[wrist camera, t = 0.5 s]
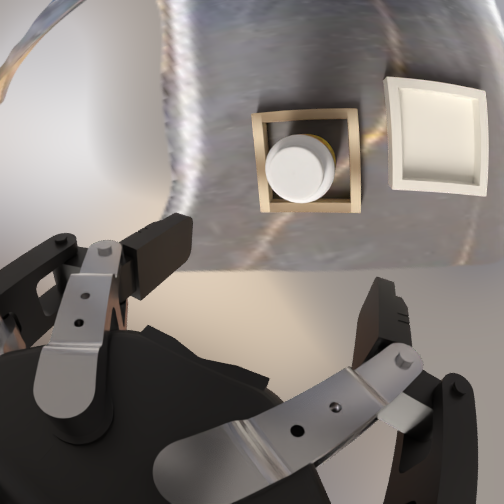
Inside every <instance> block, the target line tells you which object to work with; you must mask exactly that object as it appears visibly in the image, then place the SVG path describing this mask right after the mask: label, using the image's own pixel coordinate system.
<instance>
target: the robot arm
mask: <svg viewBox="0 0 504 504" xmlns="http://www.w3.org/2000/svg"><path fill="white" fill-rule="evenodd" d="M192 229H193V220H192V218H191V217H189V216H185V215H182V214H179V213H174V214H172V215H170V216H169V217H167V218H165V219H163V220H160V221H157V222H153V223H151V224H149V225H147V226H146V227H145V228H142V229H141V230H139V231H138V232H135V233H134V234H132V235H130V236H129V237H127V238H125V239H124V240H122V241H121V242H119V243H118V242H116V241H113V240H103V241H98V242H96V243H94V244H92V245H91V246H90V247H89V248H83V247H78V246H77V241H76V236H75V235H73V234H70V233H62V234H58V235H55V236H53V237H51V238H49V239H48V240H46V241H44V242H43V243H41V244H40V245H38V246H36V247H34V248H33V249H31V250H30V251H28V252H27V253H25V254H23V255H22V256H20V257H19V258H17V259H16V260H14V261H13V262H11V263H10V264H8V265H7V266H5V267H4V268H2V269H1V270H0V504H331V502H330V500H329V498H328V496H327V493H326V491H325V489H324V486H323V484H322V482H321V479H320V477H319V475H318V472H317V470H316V468H318V467H319V466H321V465H322V464H324V463H325V462H327V461H328V460H329V459H331V458H332V457H333V456H335V455H336V454H337V453H338V452H339V451H341V450H342V449H343V448H345V447H346V446H347V445H349V444H350V443H351V442H352V441H353V440H355V439H356V438H357V437H359V436H360V435H361V434H362V433H363V432H365V431H366V430H367V429H368V428H369V427H371V426H372V425H373V424H374V423H375V422H376V421H377V420H381V421H383V422H385V423H386V424H388V425H390V426H392V427H393V428H395V429H397V430H398V431H397V439H396V445H395V452H394V457H393V462H392V468H391V473H390V477H389V483H388V486H387V491H386V495H385V499H384V502H383V504H476V495H477V480H478V436H477V421H476V409H475V400H474V393H473V389H472V386H471V385H470V383H469V382H468V381H467V380H466V379H465V378H464V377H463V376H461V375H459V374H456V373H450V374H447V375H446V376H445V377H444V378H443V379H442V380H439V379H438V378H436V377H434V376H432V375H431V374H429V373H427V372H426V371H424V370H423V361H422V358H421V356H420V355H419V353H418V352H417V351H416V350H415V349H413V348H412V341H411V331H410V325H409V323H410V322H409V318H408V316H409V315H408V308H407V306H406V304H405V302H404V301H403V299H402V298H401V297H397V296H396V295H395V285H394V282H392V281H388V280H386V279H383V278H380V277H376V278H375V280H374V282H373V285H372V286H371V289H370V291H369V293H368V296H367V298H366V300H365V302H364V304H363V306H362V308H361V311H360V314H359V318H358V322H357V331H356V340H355V347H354V355H353V363H352V367H347V368H344V369H343V370H341V371H339V372H338V373H336V374H334V375H333V376H331V377H329V378H328V379H326V380H325V381H322V382H321V383H319V384H317V385H316V386H314V387H312V388H310V389H308V390H307V391H305V392H303V393H301V394H299V395H297V396H295V397H294V398H292V399H290V400H288V401H286V402H283V401H282V400H281V399H280V398H279V397H278V396H277V395H276V394H274V393H273V392H272V391H270V390H269V389H267V388H266V387H267V385H268V381H269V378H268V377H265V376H262V375H260V374H257V373H254V372H252V371H249V370H247V369H244V368H242V367H239V366H236V365H231V364H225V363H221V362H216V361H211V360H206V359H202V358H200V357H198V356H197V355H195V354H194V353H193V352H191V351H190V350H189V349H188V348H186V347H185V346H184V345H182V344H181V343H180V342H179V341H178V340H176V339H175V338H173V337H171V336H169V335H167V334H165V333H163V332H161V331H159V330H157V329H155V328H153V327H151V326H149V325H147V326H146V327H145V328H144V330H143V331H142V332H138V331H132V330H127V314H128V299H127V298H128V297H129V296H132V297H135V298H137V299H138V300H142V299H143V298H145V297H146V296H147V295H148V294H149V293H150V292H151V291H152V290H154V289H155V288H156V287H157V286H158V285H159V284H161V283H162V282H163V281H164V280H165V279H166V278H167V277H169V276H170V275H171V274H172V273H173V272H174V271H176V270H177V269H178V268H179V267H180V266H181V265H183V264H184V263H185V262H186V261H187V260H188V258H189V256H190V253H191V245H192ZM52 271H53V274H54V278H55V282H56V285H55V286H53V287H52V288H51V289H50V290H48V291H47V292H46V293H45V294H43V295H42V296H41V297H39V298H38V295H37V291H36V287H37V284H38V282H39V281H40V280H41V279H42V278H44V277H45V276H46V275H48V274H49V273H50V272H52ZM52 326H54V328H53V331H52V335H51V339H50V342H49V343H48V344H47V345H42V346H37V347H31V346H32V345H33V344H34V343H35V342H36V341H37V340H38V339H39V338H40V337H42V335H44V334H45V333H46V332H47V331H48V330H49V329H50V328H51V327H52ZM30 347H31V348H30Z"/></svg>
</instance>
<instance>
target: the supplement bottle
mask: <svg viewBox="0 0 504 504" xmlns="http://www.w3.org/2000/svg"><path fill="white" fill-rule="evenodd" d="M335 167H336V158H335V154H334V151H333V149H332V147H331V146H330V144H329V143H328V142H327V141H326V140H324V139H323V138H321V137H319V136H316V135H312V134H298V135H291V136H287V137H285V138H283V139H281V140H279V141H278V142H277V143H276V144H275V145H274V146H273V147H272V148H271V150H270V151H269V153H268V155H267V159H266V163H265V172H266V177H267V180H268V182H269V184H270V186H271V188H272V189H273V190H274V191H275V192H276V193H277V194H278V195H279V196H280V197H282V198H283V199H285V200H288V201H291V202H295V203H308V202H312V201H315V200H317V199H319V198H320V197H322V196H323V195H324V194H325V193H326V192H327V191H328V190H329V188H330V186H331V184H332V182H333V179H334V175H335Z"/></svg>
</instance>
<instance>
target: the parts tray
mask: <svg viewBox="0 0 504 504" xmlns="http://www.w3.org/2000/svg"><path fill="white" fill-rule="evenodd" d="M383 85H384V94H385V105H386V118H387V135H388V185H389V186H390V187H391V188H392V190H412V191H429V192H443V193H455V194H466V195H476V196H486V193H487V179H488V116H487V103H486V93H485V91H482V90H478V89H474V88H469V87H464V86H459V85H453V84H448V83H441V82H435V81H427V80H419V79H410V78H399V77H386V78H385V79H384V80H383Z"/></svg>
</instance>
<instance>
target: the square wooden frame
mask: <svg viewBox="0 0 504 504" xmlns="http://www.w3.org/2000/svg"><path fill="white" fill-rule="evenodd" d="M251 117H252V126H253V136H254V146H255V156H256V166H257V177H258V187H259V198H260V208H261V212H341V213H361V169H360V142H359V125H358V112H357V109H354V108H337V109H304V110H288V111H275V112H264V113H255V114H251ZM322 119H347V124H348V139H349V160H350V199H317V200H315V201H312V202H308V203H295V202H291V201H288V200H285V199H273V192H272V188H271V186H270V184H269V182H268V180H267V177H266V172H265V163H266V159H267V155H268V153H269V146H268V135H267V125H266V123H268V122H281V121H297V120H322Z"/></svg>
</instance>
